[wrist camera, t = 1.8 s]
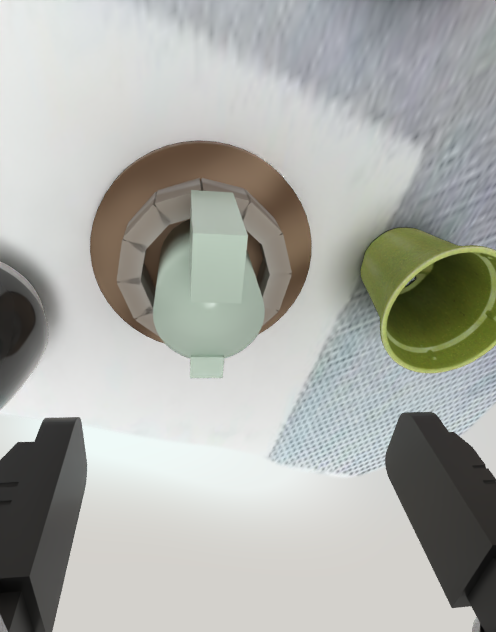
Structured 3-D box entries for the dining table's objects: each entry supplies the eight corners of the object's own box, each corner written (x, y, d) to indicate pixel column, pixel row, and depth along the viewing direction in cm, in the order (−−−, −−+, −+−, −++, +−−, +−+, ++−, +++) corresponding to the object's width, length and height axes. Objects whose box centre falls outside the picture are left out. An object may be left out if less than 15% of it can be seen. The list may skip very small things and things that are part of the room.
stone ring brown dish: (348, 247, 34) (367, 270, 30) (209, 371, 38) (212, 404, 35) (195, 83, 27) (197, 88, 23) (48, 259, 31) (30, 286, 28)
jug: (242, 312, 34) (265, 414, 25) (160, 310, 33) (150, 416, 24) (256, 176, 29) (292, 237, 19) (159, 169, 28) (144, 230, 18)
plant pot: (419, 178, 32) (490, 215, 24) (470, 263, 36) (544, 317, 29) (317, 259, 34) (354, 315, 27) (377, 330, 38) (423, 395, 31)
